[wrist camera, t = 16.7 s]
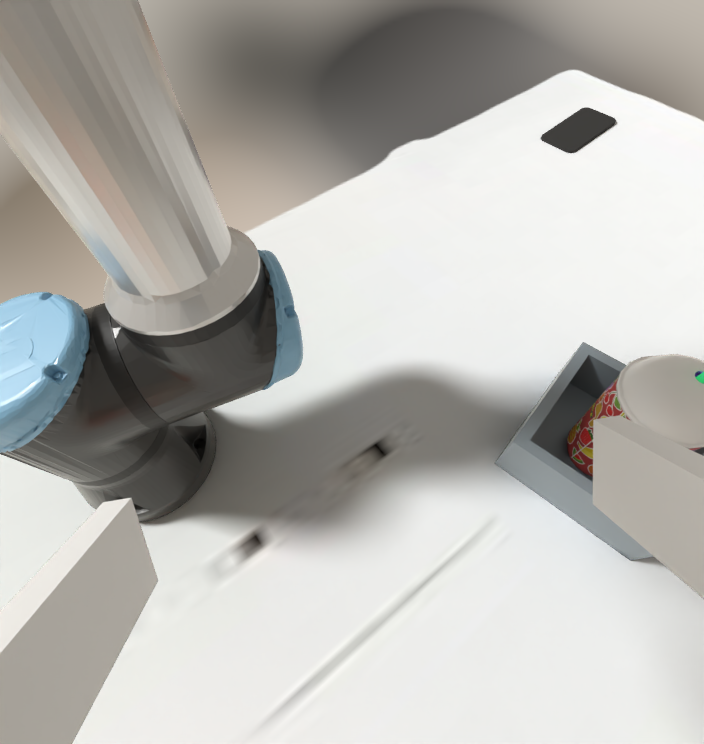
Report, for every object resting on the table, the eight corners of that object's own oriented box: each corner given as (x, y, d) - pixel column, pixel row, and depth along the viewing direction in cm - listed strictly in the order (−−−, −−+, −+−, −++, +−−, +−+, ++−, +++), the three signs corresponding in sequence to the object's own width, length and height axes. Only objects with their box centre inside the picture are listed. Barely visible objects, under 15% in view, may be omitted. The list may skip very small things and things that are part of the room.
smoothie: (597, 408, 47) (726, 294, 30) (651, 471, 43) (835, 382, 26) (538, 436, 46) (638, 334, 29) (589, 504, 42) (739, 434, 25)
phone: (538, 136, 76) (584, 105, 81) (537, 141, 77) (583, 110, 81) (572, 152, 73) (618, 119, 78) (570, 157, 74) (616, 124, 78)
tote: (494, 463, 45) (512, 441, 39) (558, 373, 51) (583, 342, 45) (630, 560, 40) (675, 552, 34) (686, 447, 45) (733, 423, 39)
